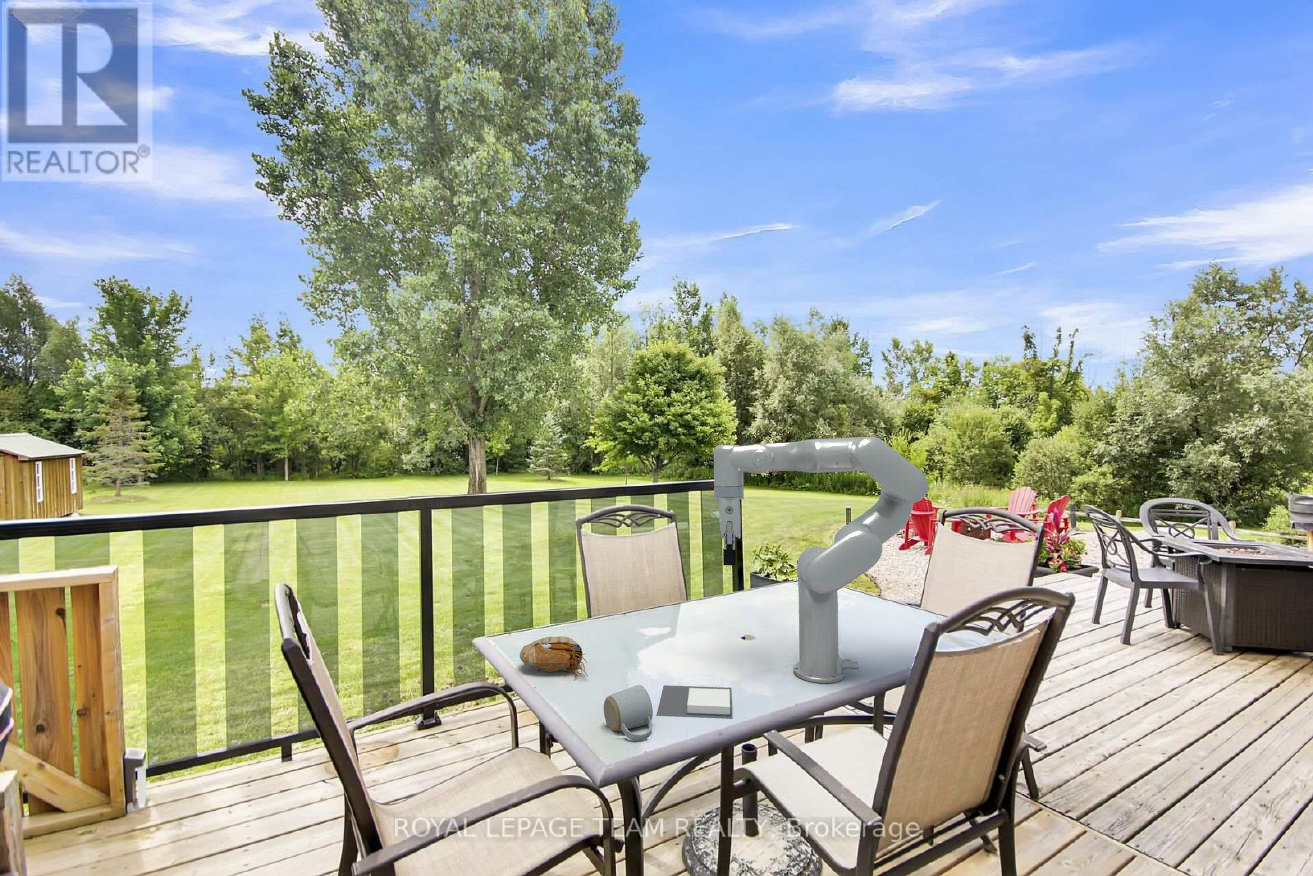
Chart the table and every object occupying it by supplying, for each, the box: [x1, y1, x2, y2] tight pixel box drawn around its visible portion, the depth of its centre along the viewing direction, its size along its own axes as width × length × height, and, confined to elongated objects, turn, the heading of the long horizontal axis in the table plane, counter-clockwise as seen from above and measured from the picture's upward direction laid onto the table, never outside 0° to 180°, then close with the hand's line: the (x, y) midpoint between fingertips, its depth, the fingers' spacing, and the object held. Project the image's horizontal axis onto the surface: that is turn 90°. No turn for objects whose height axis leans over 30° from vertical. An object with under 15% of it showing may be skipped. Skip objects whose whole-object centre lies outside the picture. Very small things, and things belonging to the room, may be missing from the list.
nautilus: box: [519, 635, 589, 680], centre depth 152 cm, size 8×22×15 cm
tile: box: [687, 688, 730, 716], centre depth 130 cm, size 9×2×9 cm
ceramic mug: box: [603, 684, 654, 742], centre depth 120 cm, size 11×8×8 cm
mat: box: [656, 684, 734, 720], centre depth 132 cm, size 16×16×1 cm
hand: (729, 564), depth 152 cm, fingers closed
